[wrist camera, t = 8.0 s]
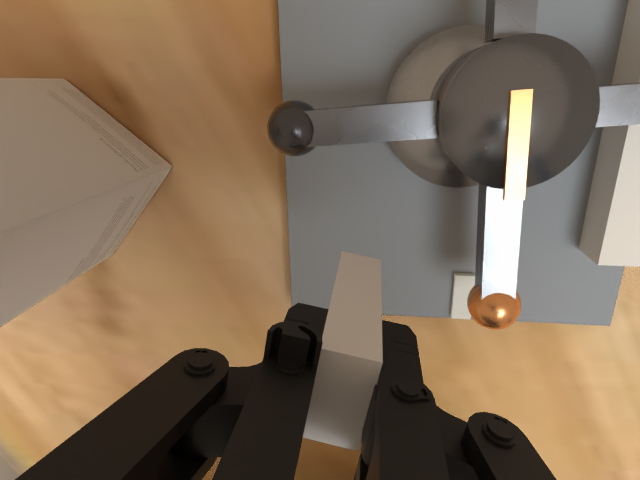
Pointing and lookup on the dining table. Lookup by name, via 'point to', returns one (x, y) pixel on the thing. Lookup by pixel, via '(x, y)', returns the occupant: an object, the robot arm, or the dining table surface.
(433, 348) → the dining table surface
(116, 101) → the dining table surface
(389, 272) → the stand
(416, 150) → the capstan
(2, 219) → the supplement box
